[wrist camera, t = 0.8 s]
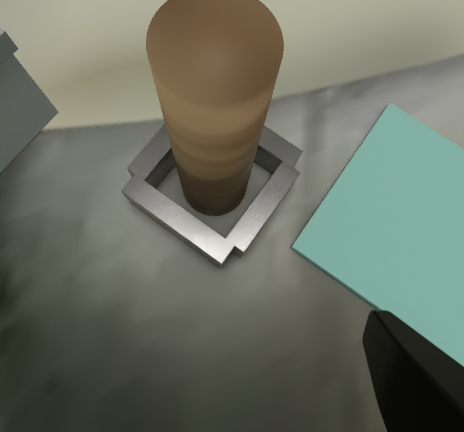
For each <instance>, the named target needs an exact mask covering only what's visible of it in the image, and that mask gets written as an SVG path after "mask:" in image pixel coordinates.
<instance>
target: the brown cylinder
mask: <svg viewBox="0 0 464 432" xmlns="http://www.w3.org/2000/svg"><path fill="white" fill-rule="evenodd" d="M283 47H284V42H283V36H282V32H281V29H280V26H279V24H278V22H277V20H276V18H275V17H274V15H273V14H272V13H271V12H270V10H269V9H268V8H267V7H266V6H265V5H264V4H263V3H262V2H260V1H259V0H168V1H167V2H165V3H164V4H163V5H162V6H161V7H160V8H159V10H158V11H157V12H156V14H155V15H154V17H153V18H152V20H151V23H150V25H149V28H148V32H147V38H146V49H147V54H148V59H149V62H150V66H151V70H152V74H153V77H154V82H155V86H156V90H157V93H158V97H159V101H160V105H161V109H162V113H163V117H164V120H165V124H166V128H167V132H168V136H169V140H170V144H171V147H172V151H173V155H174V159H175V163H176V167H177V171H178V174H179V178H180V182H181V186H182V190H183V194H184V196H185V198H186V200H187V202H188V203H189V204H190V206H191V207H192V208H194V209H195V210H196V211H198V212H200V213H202V214H205V215H210V216H218V215H223V214H226V213H228V212H230V211H232V210H234V209H235V208H236V207H237V206H238V205H239V204H240V202H241V201H242V199H243V197H244V194H245V191H246V188H247V184H248V180H249V177H250V173H251V169H252V166H253V162H254V159H255V155H256V151H257V148H258V144H259V140H260V137H261V133H262V130H263V126H264V122H265V119H266V115H267V111H268V108H269V104H270V101H271V97H272V93H273V90H274V86H275V82H276V79H277V75H278V72H279V68H280V64H281V61H282V57H283V50H284V49H283Z"/></svg>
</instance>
